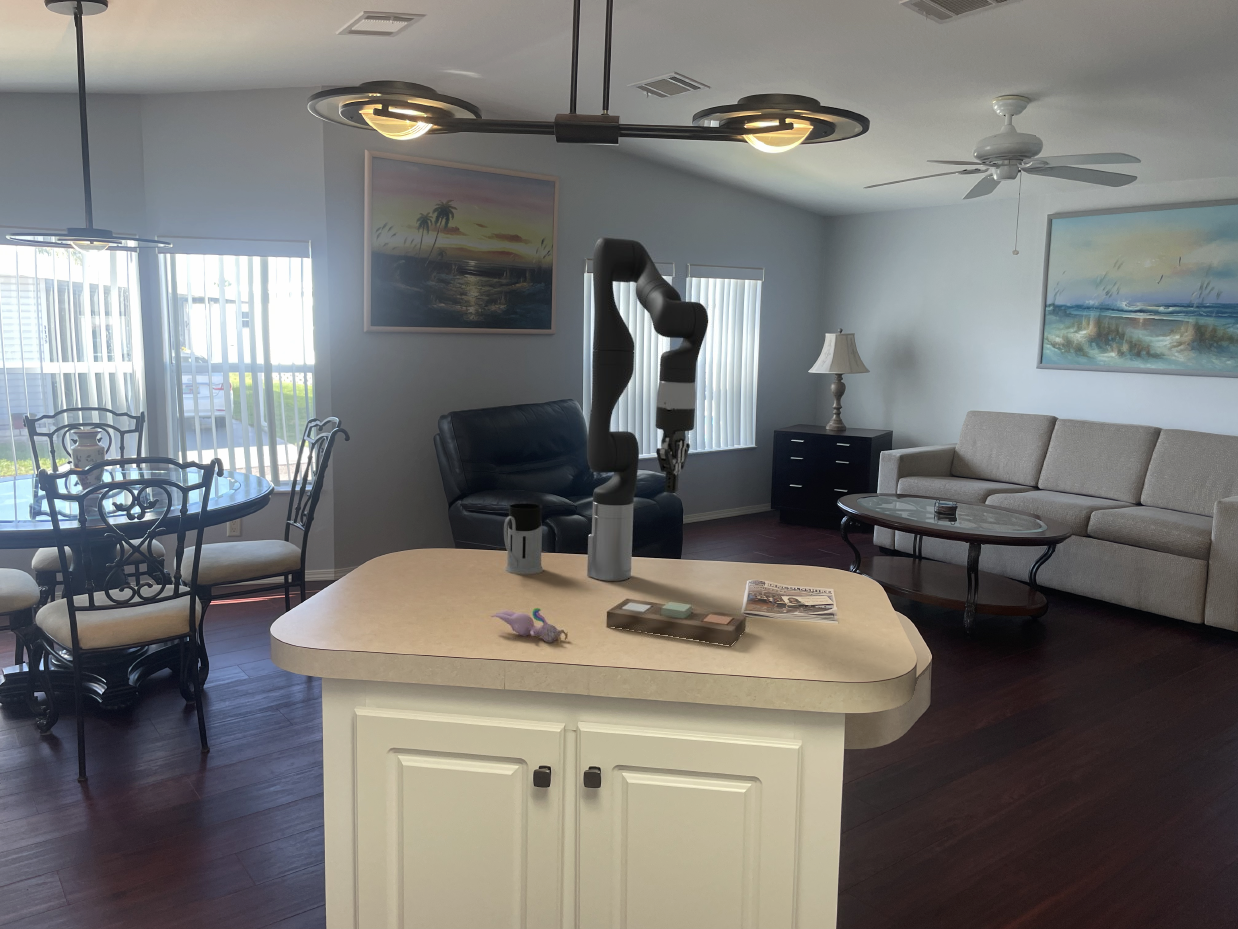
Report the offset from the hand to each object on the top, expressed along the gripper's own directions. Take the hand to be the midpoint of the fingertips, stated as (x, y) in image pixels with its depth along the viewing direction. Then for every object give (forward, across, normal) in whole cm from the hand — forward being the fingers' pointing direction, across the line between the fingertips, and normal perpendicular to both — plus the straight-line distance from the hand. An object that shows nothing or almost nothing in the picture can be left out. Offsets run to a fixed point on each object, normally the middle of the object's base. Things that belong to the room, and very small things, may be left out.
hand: (671, 492), depth 177 cm
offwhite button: (+23, +11, -1) cm, 26 cm away
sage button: (+22, +11, +7) cm, 25 cm away
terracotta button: (+23, +11, +15) cm, 29 cm away
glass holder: (+25, -11, -40) cm, 48 cm away
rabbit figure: (+24, +28, -15) cm, 40 cm away
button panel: (+24, +11, +7) cm, 27 cm away
